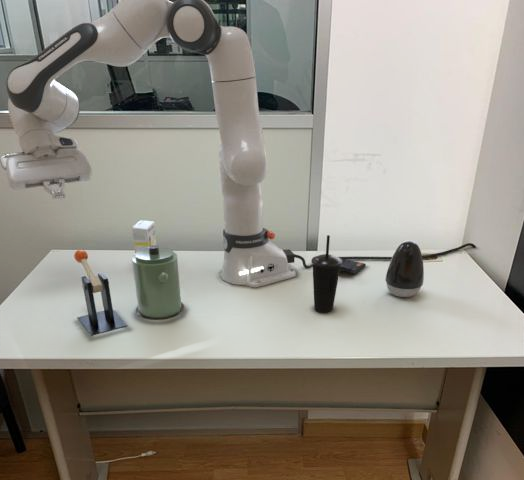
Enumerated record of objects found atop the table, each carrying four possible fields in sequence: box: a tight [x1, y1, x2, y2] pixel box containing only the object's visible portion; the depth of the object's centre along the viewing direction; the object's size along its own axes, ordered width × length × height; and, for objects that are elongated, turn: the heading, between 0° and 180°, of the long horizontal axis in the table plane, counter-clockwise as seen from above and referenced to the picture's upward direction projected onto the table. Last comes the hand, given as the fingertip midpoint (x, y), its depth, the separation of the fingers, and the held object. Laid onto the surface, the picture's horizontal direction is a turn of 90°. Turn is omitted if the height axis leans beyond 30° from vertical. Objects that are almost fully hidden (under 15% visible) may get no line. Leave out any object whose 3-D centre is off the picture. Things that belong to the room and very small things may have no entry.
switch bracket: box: [76, 272, 128, 337], centre depth 129 cm, size 11×9×13 cm
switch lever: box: [73, 249, 102, 294], centre depth 128 cm, size 13×3×3 cm, turn 33°
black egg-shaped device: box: [384, 240, 425, 298], centre depth 144 cm, size 10×10×15 cm
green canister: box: [131, 244, 185, 321], centre depth 133 cm, size 18×12×18 cm
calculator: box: [339, 258, 366, 275], centre depth 162 cm, size 9×12×3 cm
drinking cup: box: [310, 234, 342, 314], centre depth 135 cm, size 8×8×20 cm
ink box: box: [131, 219, 157, 254], centre depth 167 cm, size 9×5×12 cm, turn 174°
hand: (59, 197), depth 133 cm, fingers closed
